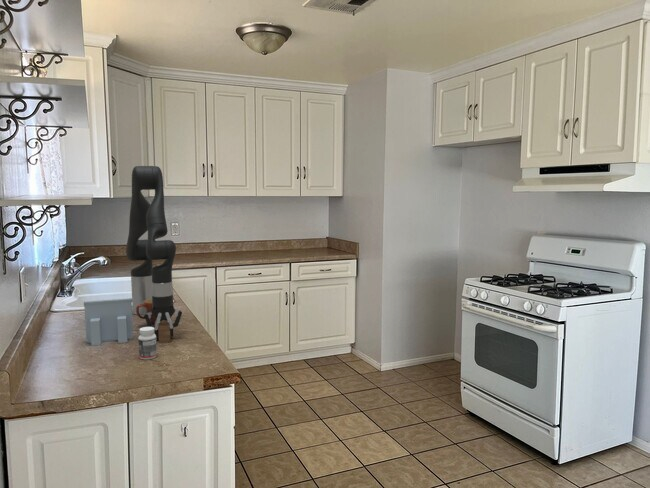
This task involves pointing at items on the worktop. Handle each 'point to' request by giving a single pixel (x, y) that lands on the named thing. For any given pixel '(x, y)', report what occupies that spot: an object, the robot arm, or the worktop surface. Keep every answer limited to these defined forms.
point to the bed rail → (164, 331)
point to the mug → (148, 308)
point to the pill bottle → (147, 343)
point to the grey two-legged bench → (108, 320)
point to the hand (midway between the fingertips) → (164, 338)
